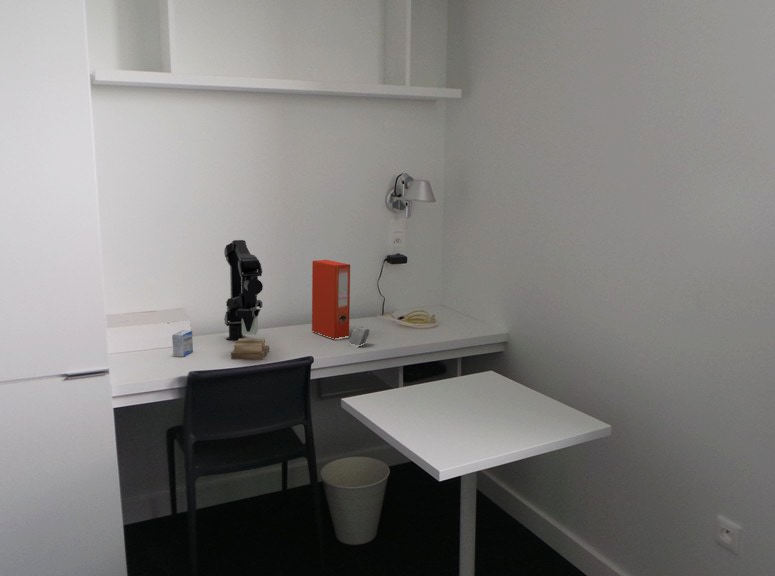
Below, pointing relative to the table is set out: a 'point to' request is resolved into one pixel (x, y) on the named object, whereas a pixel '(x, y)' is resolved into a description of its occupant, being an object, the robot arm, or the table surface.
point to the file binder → (330, 298)
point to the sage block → (253, 328)
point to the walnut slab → (251, 355)
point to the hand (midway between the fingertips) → (249, 329)
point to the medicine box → (182, 343)
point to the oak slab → (249, 346)
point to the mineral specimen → (359, 335)
